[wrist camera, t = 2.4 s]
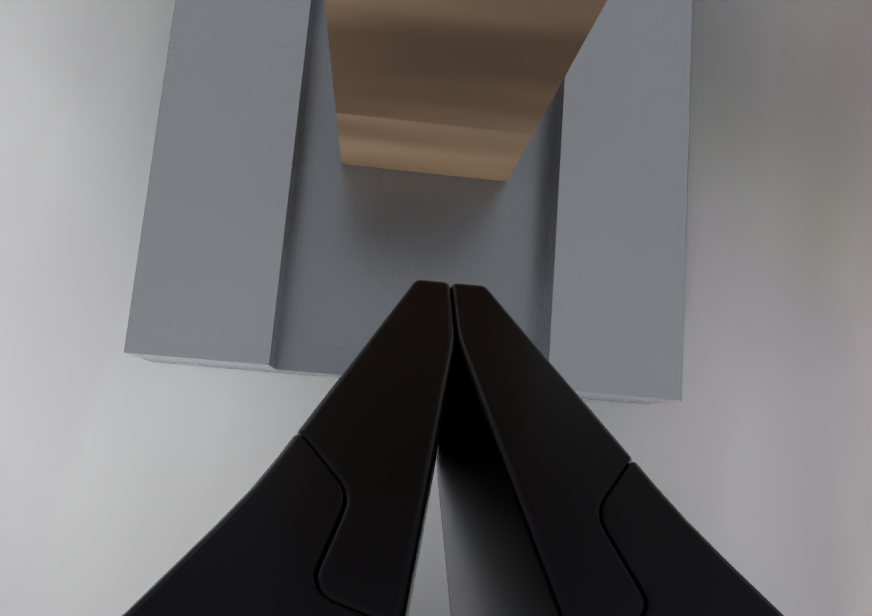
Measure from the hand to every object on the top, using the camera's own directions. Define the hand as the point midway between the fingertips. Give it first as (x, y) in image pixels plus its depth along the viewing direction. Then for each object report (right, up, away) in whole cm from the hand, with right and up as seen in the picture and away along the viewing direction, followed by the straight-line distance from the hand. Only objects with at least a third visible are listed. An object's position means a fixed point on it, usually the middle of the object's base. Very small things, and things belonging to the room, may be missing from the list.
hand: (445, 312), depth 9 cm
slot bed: (0, +7, +11) cm, 13 cm away
